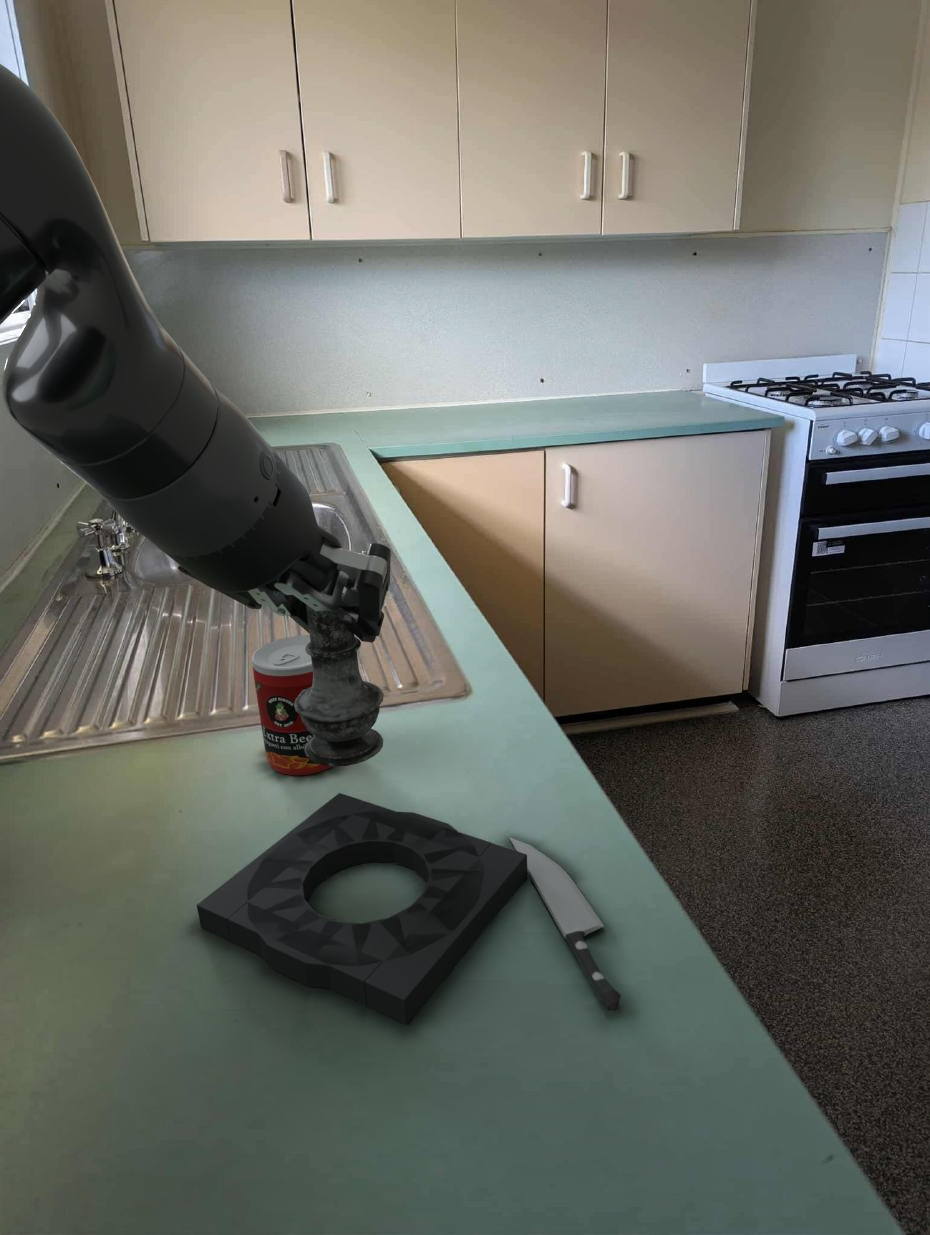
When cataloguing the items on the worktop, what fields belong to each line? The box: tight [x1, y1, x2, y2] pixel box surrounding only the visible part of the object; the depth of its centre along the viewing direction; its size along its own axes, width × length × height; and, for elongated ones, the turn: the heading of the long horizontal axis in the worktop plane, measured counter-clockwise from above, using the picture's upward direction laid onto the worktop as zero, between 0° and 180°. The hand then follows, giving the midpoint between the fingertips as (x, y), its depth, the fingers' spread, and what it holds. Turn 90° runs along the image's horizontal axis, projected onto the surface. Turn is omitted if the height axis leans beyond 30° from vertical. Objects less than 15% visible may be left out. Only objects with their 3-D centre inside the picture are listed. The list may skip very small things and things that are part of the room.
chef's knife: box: [508, 836, 622, 1012], centre depth 62 cm, size 19×1×3 cm
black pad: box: [196, 792, 529, 1025], centre depth 64 cm, size 18×17×2 cm
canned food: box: [251, 634, 333, 776], centre depth 82 cm, size 8×8×11 cm
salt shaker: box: [294, 591, 385, 768], centre depth 57 cm, size 6×6×12 cm
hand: (347, 625), depth 58 cm, fingers closed on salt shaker, 3 cm apart
